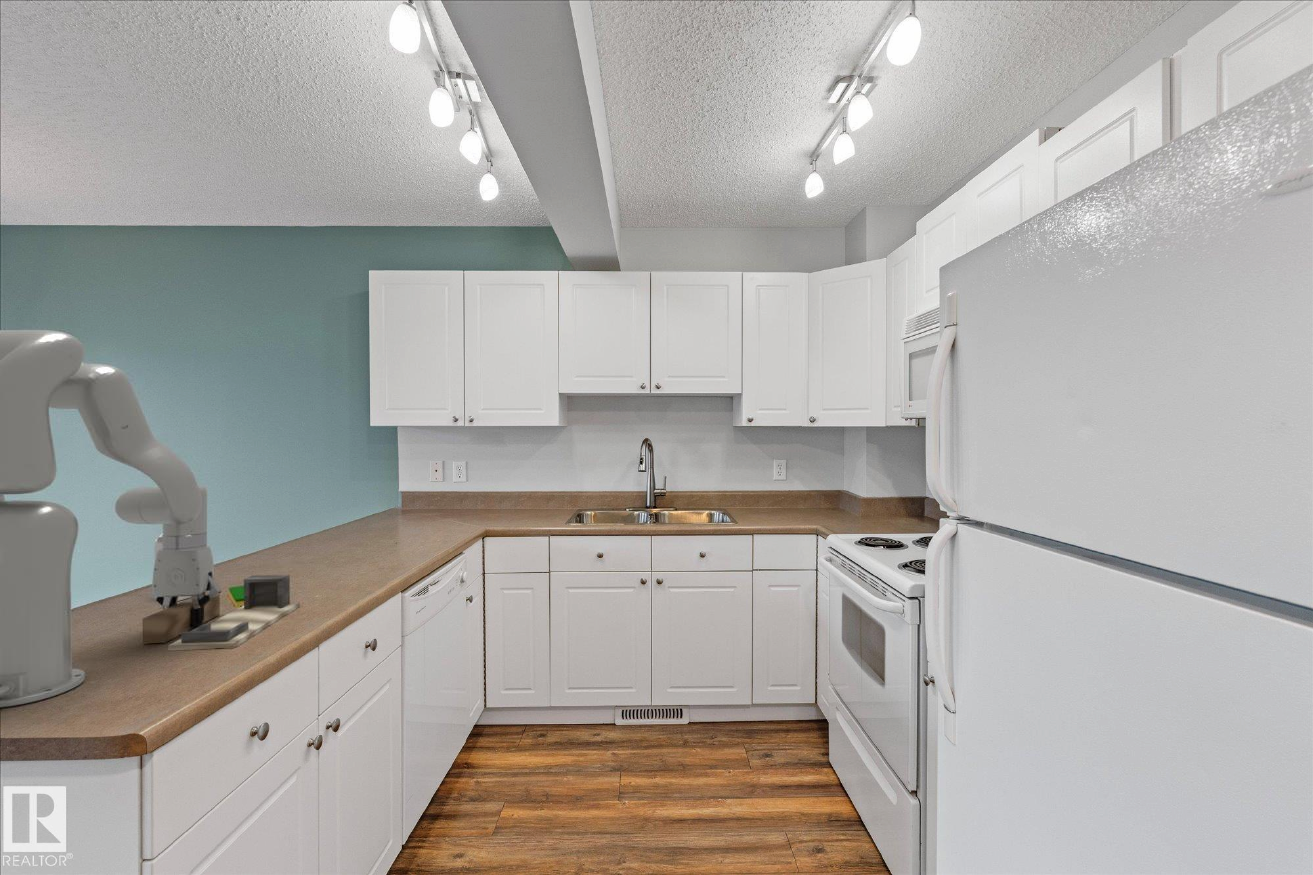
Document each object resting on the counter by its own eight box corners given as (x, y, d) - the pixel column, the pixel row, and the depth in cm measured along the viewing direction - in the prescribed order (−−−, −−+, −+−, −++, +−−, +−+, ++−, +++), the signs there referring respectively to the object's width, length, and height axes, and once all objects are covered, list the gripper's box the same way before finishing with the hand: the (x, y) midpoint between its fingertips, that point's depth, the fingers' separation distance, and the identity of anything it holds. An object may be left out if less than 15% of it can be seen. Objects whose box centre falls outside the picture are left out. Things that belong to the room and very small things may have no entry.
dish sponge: (235, 609, 142) (235, 599, 142) (228, 596, 152) (228, 587, 152) (270, 603, 146) (270, 593, 146) (261, 591, 157) (261, 582, 157)
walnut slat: (164, 642, 118) (164, 618, 118) (142, 643, 117) (142, 618, 117) (219, 614, 136) (219, 593, 136) (201, 615, 135) (201, 593, 135)
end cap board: (233, 648, 116) (233, 607, 116) (167, 650, 115) (167, 609, 114) (299, 606, 143) (299, 573, 143) (246, 607, 141) (246, 574, 141)
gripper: (129, 545, 122) (129, 633, 122) (216, 544, 124) (215, 630, 124) (155, 539, 129) (155, 621, 130) (237, 538, 132) (236, 619, 132)
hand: (184, 625), depth 127 cm, fingers closed on walnut slat, 4 cm apart
